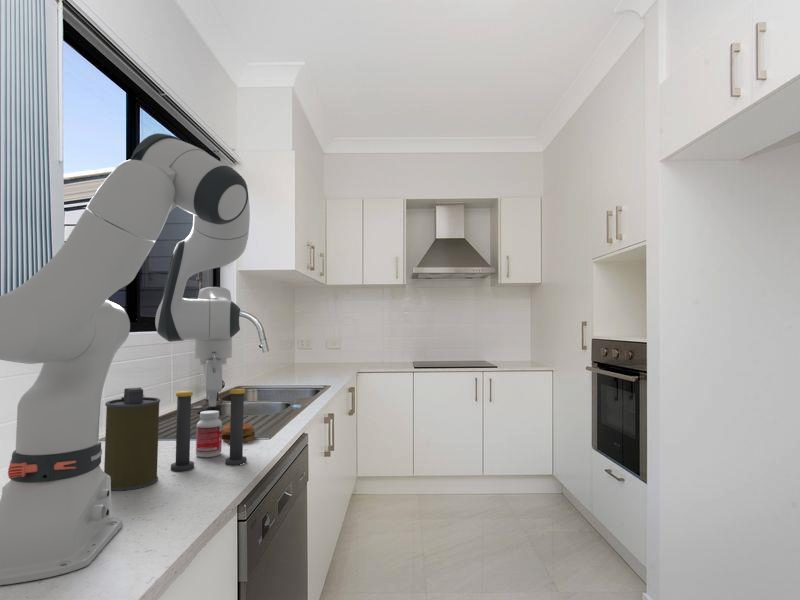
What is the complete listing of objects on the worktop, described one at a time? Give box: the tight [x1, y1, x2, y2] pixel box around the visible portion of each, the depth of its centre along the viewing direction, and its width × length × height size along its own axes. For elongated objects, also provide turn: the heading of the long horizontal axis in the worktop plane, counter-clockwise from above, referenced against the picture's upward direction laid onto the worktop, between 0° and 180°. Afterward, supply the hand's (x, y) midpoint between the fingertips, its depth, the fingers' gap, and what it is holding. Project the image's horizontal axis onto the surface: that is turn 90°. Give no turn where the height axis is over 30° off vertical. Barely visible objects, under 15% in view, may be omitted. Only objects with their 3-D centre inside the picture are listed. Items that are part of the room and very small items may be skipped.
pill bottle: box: [195, 410, 223, 458], centre depth 127 cm, size 6×6×11 cm
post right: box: [224, 388, 248, 466], centre depth 120 cm, size 5×5×18 cm
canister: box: [103, 387, 161, 492], centre depth 105 cm, size 11×10×20 cm
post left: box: [170, 390, 195, 472], centre depth 115 cm, size 5×5×18 cm
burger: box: [222, 422, 256, 444], centre depth 143 cm, size 10×9×5 cm
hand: (212, 405), depth 124 cm, fingers closed
